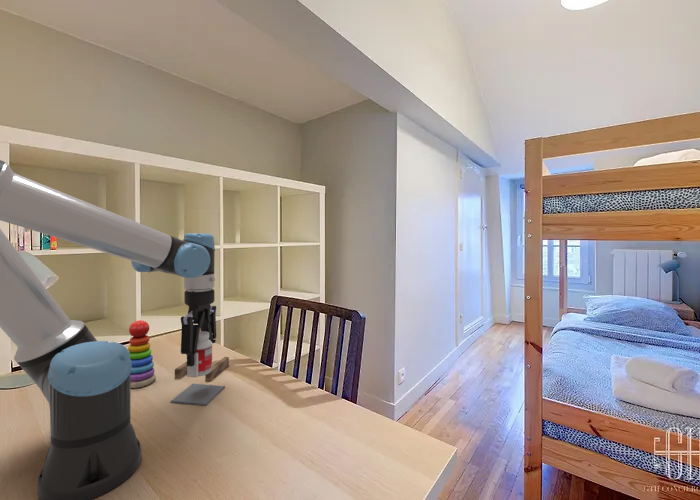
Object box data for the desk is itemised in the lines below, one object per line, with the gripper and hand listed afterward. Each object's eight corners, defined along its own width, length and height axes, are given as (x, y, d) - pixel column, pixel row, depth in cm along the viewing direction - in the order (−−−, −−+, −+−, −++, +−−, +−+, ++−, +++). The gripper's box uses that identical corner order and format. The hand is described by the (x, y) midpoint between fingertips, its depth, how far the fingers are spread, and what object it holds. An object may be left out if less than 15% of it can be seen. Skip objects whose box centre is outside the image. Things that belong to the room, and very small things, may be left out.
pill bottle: (182, 374, 88) (182, 335, 87) (200, 366, 94) (200, 328, 93) (200, 378, 86) (200, 338, 85) (217, 369, 92) (217, 331, 91)
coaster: (206, 405, 84) (206, 403, 84) (170, 402, 85) (170, 400, 85) (224, 387, 94) (224, 386, 94) (192, 385, 95) (192, 383, 95)
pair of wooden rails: (210, 381, 98) (210, 371, 98) (174, 378, 99) (174, 369, 99) (228, 365, 110) (228, 357, 110) (197, 363, 111) (197, 354, 111)
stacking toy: (161, 377, 100) (161, 318, 99) (142, 390, 92) (142, 325, 91) (138, 375, 100) (137, 316, 99) (117, 388, 92) (116, 323, 92)
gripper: (192, 296, 79) (192, 388, 80) (229, 284, 98) (229, 358, 99) (163, 295, 79) (164, 386, 81) (205, 283, 98) (205, 357, 100)
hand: (199, 370), depth 90 cm, fingers closed on pill bottle, 6 cm apart
